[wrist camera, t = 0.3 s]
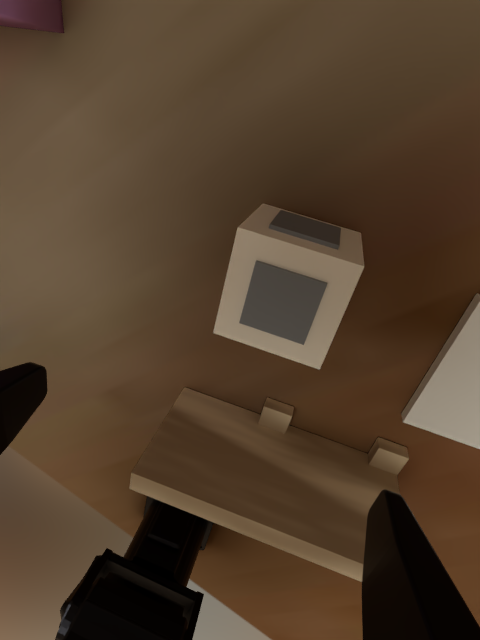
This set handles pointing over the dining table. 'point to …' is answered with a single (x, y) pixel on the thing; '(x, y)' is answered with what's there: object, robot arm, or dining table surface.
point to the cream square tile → (452, 385)
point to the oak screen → (268, 478)
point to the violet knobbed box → (32, 14)
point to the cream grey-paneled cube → (289, 284)
